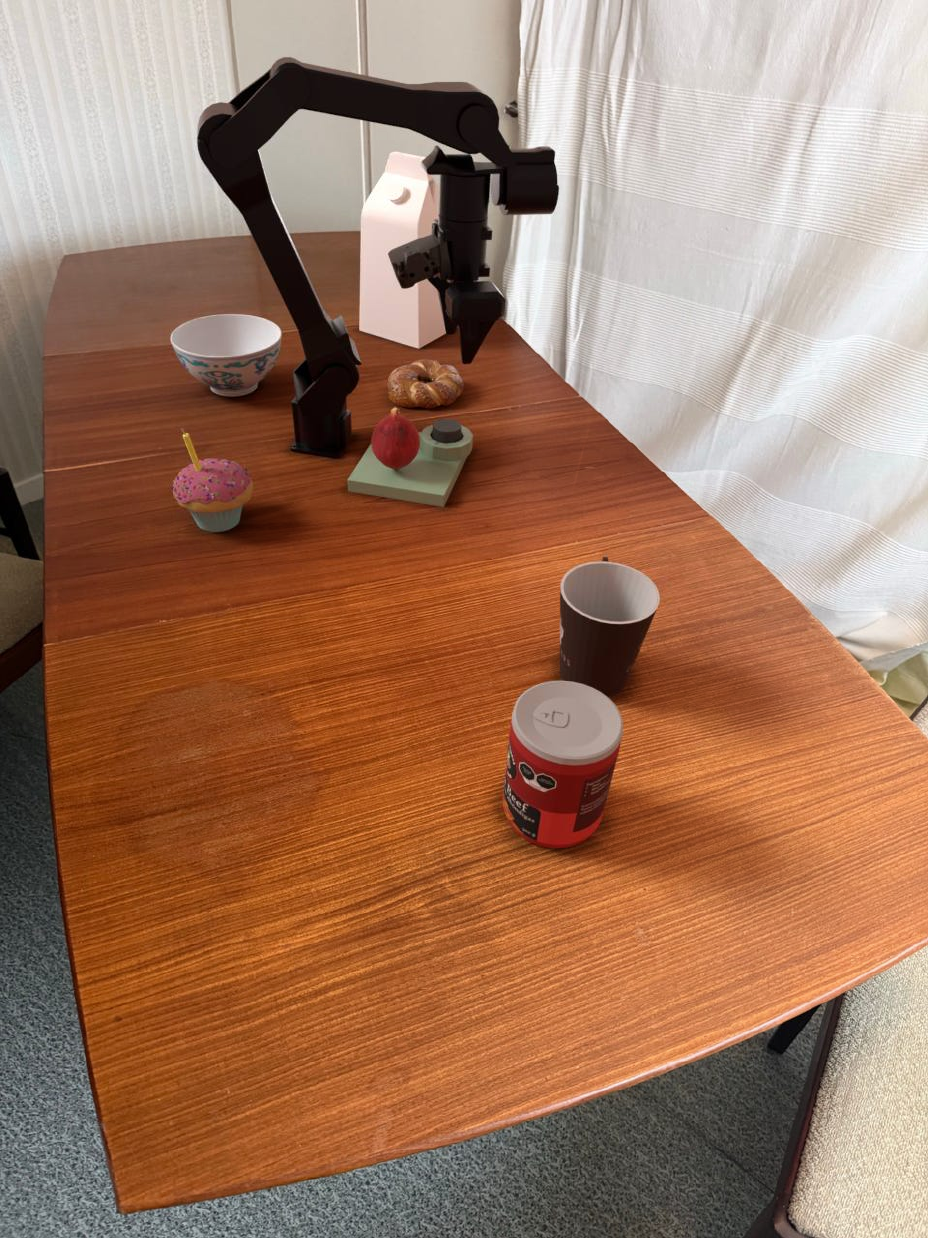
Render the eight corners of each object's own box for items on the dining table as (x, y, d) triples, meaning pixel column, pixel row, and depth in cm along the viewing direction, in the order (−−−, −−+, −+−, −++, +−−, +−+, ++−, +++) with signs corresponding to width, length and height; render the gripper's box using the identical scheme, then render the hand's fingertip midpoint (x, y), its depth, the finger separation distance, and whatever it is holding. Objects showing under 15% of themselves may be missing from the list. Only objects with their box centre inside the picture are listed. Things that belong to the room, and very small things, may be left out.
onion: (424, 478, 100) (425, 418, 95) (378, 484, 99) (376, 423, 94) (412, 454, 104) (413, 395, 99) (367, 460, 103) (365, 400, 98)
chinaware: (158, 396, 117) (147, 343, 112) (220, 357, 128) (212, 306, 123) (249, 419, 113) (242, 365, 108) (305, 376, 124) (301, 325, 119)
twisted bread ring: (415, 420, 115) (415, 395, 112) (369, 392, 121) (368, 367, 119) (480, 397, 121) (481, 373, 119) (432, 371, 127) (432, 347, 125)
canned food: (496, 774, 69) (506, 680, 62) (590, 770, 70) (611, 677, 62) (507, 854, 63) (519, 761, 56) (610, 849, 64) (635, 757, 57)
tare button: (429, 442, 104) (429, 429, 103) (436, 429, 107) (436, 416, 106) (457, 446, 104) (457, 433, 103) (463, 433, 106) (464, 420, 105)
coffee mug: (616, 720, 74) (636, 637, 67) (531, 682, 77) (542, 599, 71) (664, 647, 82) (686, 566, 75) (585, 615, 85) (600, 534, 78)
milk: (457, 326, 141) (464, 155, 124) (418, 348, 133) (420, 169, 116) (399, 310, 145) (398, 142, 128) (359, 330, 138) (352, 154, 121)
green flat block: (347, 491, 101) (346, 466, 98) (383, 436, 111) (382, 412, 109) (449, 508, 99) (450, 483, 96) (475, 451, 109) (477, 426, 107)
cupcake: (190, 549, 90) (169, 451, 83) (172, 509, 96) (151, 414, 88) (266, 530, 94) (253, 435, 86) (245, 493, 99) (231, 400, 91)
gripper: (380, 194, 100) (383, 322, 110) (408, 242, 86) (408, 384, 96) (470, 192, 102) (464, 318, 112) (511, 240, 88) (501, 378, 99)
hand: (458, 348), depth 105 cm, fingers open, 9 cm apart
